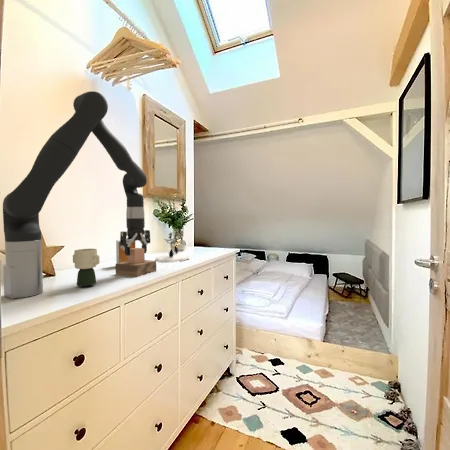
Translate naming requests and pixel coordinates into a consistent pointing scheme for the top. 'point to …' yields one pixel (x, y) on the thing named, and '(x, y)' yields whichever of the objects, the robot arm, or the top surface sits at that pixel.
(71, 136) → the robot arm
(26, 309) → the top surface
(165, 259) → the figurine
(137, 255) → the terracotta block
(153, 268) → the walnut block
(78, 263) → the character mug
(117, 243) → the small box
